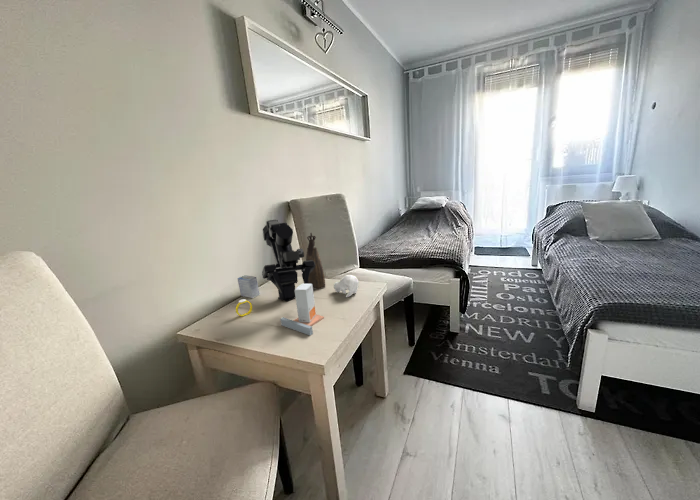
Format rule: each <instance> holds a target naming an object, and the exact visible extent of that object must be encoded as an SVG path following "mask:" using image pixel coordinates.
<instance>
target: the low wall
mask: <svg viewBox="0 0 700 500" xmlns="http://www.w3.org/2000/svg"><path fill="white" fill-rule="evenodd" d="M293 320H294V319H291V318H287V317H283V316H282V317H281V318H280V325H281V326H282V327H285V328H288V329H290V330H294V331H296V332H299V333H302V334H304V335H306V336H307V335H308V336H312V335H313V334H314V332H313V326H308V325H305V324H302V323H299V322H296V321H293Z"/></svg>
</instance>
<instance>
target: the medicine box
mask: <svg viewBox="0 0 700 500" xmlns="http://www.w3.org/2000/svg"><path fill="white" fill-rule="evenodd" d="M257 278H258V277H257V276H253V275H244V274H243V275H242V276H239V277H238V278H237V283H238V288H239V293H240V297H244V298H251V299H253V298H255V297H258V296H260V295H261V294H260V288H259V283H258V279H257Z"/></svg>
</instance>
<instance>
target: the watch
mask: <svg viewBox="0 0 700 500" xmlns="http://www.w3.org/2000/svg"><path fill="white" fill-rule="evenodd" d="M245 303H248V304H249V310H248V311H247V312H246V313H242V314H241V313H239V307H240V306H241V305H243V304H245ZM252 311H253V304H252V303H251V302H250V301H249V300H247V299H245V298H243V299H240V300H238V303H237V304H236V307H235V313H236V314H237V315H238V316H240V317H244V316H248V315H250V314H251V313H252Z"/></svg>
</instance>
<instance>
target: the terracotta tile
mask: <svg viewBox="0 0 700 500" xmlns="http://www.w3.org/2000/svg"><path fill="white" fill-rule="evenodd" d="M324 319H325V316H323V315H320V314H317V313H316V316H315V317H314V318H313V319H312V320H311V322H310V323H306V322H299V319H298V317H296V318H295V319H292V320H293V321H296V322H299V323H302V324H305V325H308V326H311V327H313V326H314V325H316V324H317V323H319V322H320V321H322V320H324Z"/></svg>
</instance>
